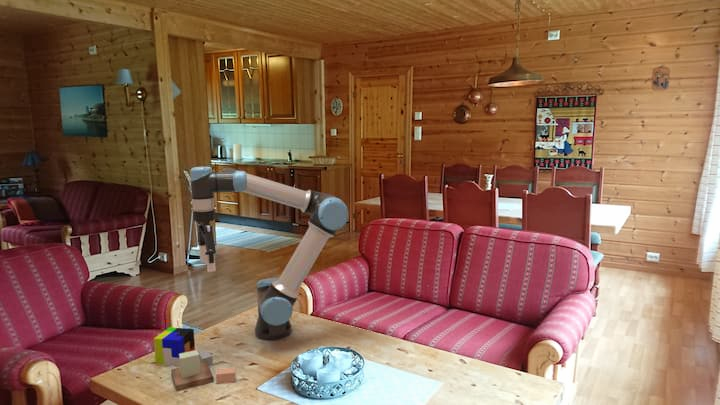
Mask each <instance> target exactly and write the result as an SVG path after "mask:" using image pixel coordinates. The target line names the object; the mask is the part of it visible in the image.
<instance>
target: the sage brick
mask: <svg viewBox="0 0 720 405" xmlns="http://www.w3.org/2000/svg"><path fill="white" fill-rule="evenodd" d="M198 352H199V351H198V349H195V350H194V351H190V352H185V353H181V354H179V362H180V366H179V368H180V373H181V376H182V378H185V377H189V376H193V375H197V374H201V373H200V360H199V353H198Z"/></svg>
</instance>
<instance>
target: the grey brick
mask: <svg viewBox="0 0 720 405" xmlns="http://www.w3.org/2000/svg"><path fill="white" fill-rule="evenodd" d="M198 353H199V360H200V363H202V362H206V361H207V363H208V365H209V367H211V366H213V365H214V363H213V362H214V361H213V355H212V354H211V352H210V351H209V350H208V349H206V350H201V351H198Z"/></svg>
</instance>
